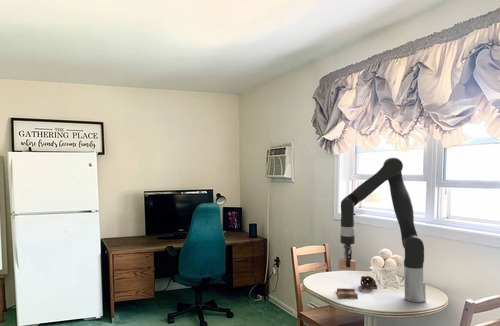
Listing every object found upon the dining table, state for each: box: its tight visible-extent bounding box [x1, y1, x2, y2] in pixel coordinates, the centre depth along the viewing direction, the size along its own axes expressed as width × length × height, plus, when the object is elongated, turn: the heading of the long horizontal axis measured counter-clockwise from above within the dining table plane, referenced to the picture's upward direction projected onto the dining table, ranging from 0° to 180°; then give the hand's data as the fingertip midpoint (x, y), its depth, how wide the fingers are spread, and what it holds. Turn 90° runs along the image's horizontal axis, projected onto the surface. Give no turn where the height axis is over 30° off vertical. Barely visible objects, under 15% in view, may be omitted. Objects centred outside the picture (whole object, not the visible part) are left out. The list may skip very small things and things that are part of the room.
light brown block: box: [336, 257, 357, 272], centre depth 195 cm, size 9×4×5 cm, turn 83°
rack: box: [336, 287, 359, 300], centre depth 194 cm, size 10×10×2 cm
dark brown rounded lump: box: [360, 275, 378, 291], centre depth 204 cm, size 12×10×8 cm
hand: (347, 265), depth 195 cm, fingers closed on light brown block, 3 cm apart
